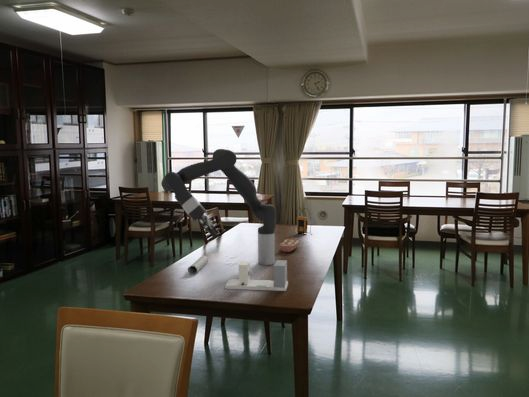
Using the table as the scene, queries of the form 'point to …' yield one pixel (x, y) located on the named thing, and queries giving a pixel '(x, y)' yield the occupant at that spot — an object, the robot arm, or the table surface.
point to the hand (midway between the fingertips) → (216, 235)
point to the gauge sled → (244, 273)
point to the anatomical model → (289, 245)
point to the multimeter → (302, 223)
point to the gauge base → (277, 285)
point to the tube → (197, 265)
